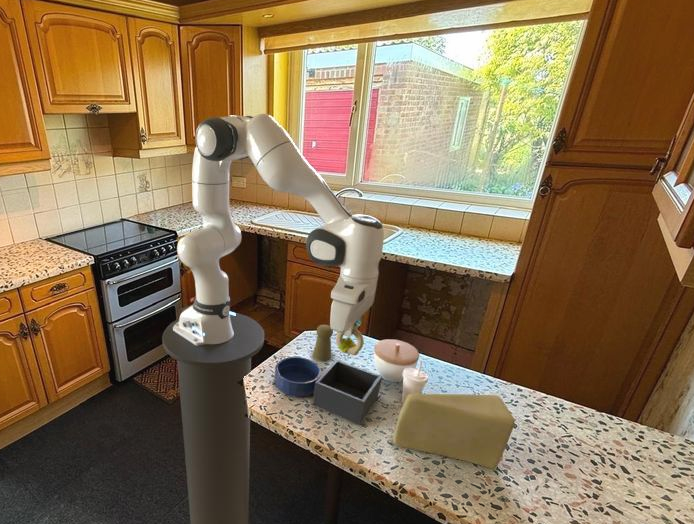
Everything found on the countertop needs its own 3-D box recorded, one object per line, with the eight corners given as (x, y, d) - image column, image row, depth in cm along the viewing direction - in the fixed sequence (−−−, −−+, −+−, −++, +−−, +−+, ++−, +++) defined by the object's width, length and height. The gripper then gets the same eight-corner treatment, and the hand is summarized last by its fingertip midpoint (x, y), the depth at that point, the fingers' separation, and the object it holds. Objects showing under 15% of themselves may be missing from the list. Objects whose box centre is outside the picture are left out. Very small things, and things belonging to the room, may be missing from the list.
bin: (312, 404, 111) (315, 382, 107) (333, 380, 120) (336, 359, 117) (359, 425, 103) (364, 402, 100) (377, 397, 113) (382, 376, 110)
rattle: (374, 353, 105) (380, 312, 102) (354, 359, 100) (360, 315, 98) (351, 345, 111) (356, 305, 108) (331, 349, 106) (336, 308, 103)
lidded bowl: (420, 375, 123) (428, 345, 118) (400, 393, 115) (407, 361, 110) (383, 358, 131) (389, 329, 126) (362, 374, 123) (367, 343, 118)
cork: (311, 358, 131) (314, 329, 126) (314, 349, 136) (317, 321, 131) (330, 362, 129) (333, 332, 124) (332, 352, 134) (335, 323, 129)
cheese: (396, 458, 94) (408, 409, 87) (389, 429, 102) (399, 381, 96) (498, 472, 90) (518, 421, 84) (482, 440, 99) (500, 392, 92)
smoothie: (417, 413, 107) (428, 371, 101) (393, 403, 111) (402, 362, 105) (424, 401, 112) (434, 359, 106) (400, 392, 115) (410, 351, 109)
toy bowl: (266, 386, 118) (267, 372, 116) (288, 365, 127) (289, 352, 125) (306, 403, 111) (307, 389, 109) (326, 380, 120) (328, 366, 118)
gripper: (361, 268, 106) (354, 314, 112) (327, 294, 91) (322, 345, 97) (384, 273, 103) (376, 320, 109) (354, 301, 88) (346, 354, 94)
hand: (350, 332), depth 103 cm, fingers closed on rattle
